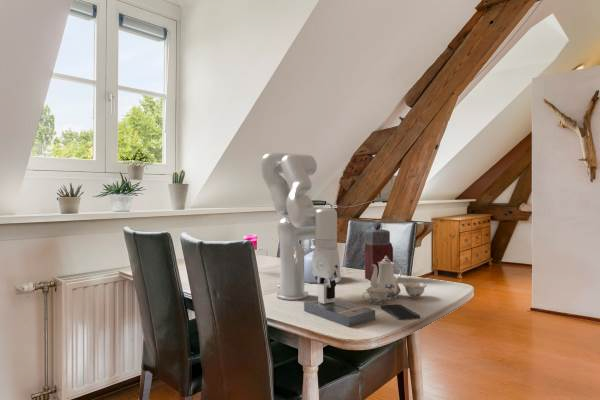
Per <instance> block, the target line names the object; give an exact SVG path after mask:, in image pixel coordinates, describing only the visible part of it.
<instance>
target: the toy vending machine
mask: <svg viewBox="0 0 600 400" xmlns="http://www.w3.org/2000/svg"><path fill="white" fill-rule="evenodd" d="M381 222H382V221H381V220H379V219H376V220H375V219H374V220H373V222H372V225H373V229H369V228H368V229H365V230H364V279H365V278H366V280H367V279H368V280H367V281H369V280H370V281H369V282H371V278H372V275H373V271H374V267H373V265H372V264H375V265H376V266H377V270H378V271H377V278H378V275H379V265H378V262H381V261H382V260H383V259H385V258H384V257H385V256H387V257H388V259H389V260H390V261H391V262H394V247H393V244H392V242H391V237H390V236H391V232H390V230H387V229H381V227H382V223H381Z"/></svg>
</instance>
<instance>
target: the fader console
mask: <svg viewBox="0 0 600 400" xmlns="http://www.w3.org/2000/svg"><path fill="white" fill-rule="evenodd" d="M303 312H306V313H307V314H311V315H314V316H316V317H320V318H322V319H325V320H329V321H330V322H334V323H336V324H339V325H342V326H344V327H347V328H349V327H353V326H357V325H361V324H364V323H368V322H371V321H376V310H375V309H372V308H369V307H365V306H363V305H359V304H356V303H352V302H348V301H346V300H342V299H338V298H335V301H334V302H330V303H325V304H323V303H320V302H318V299H314V300H313V299H312V300H309V301H304V302H303Z"/></svg>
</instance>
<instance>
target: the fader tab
mask: <svg viewBox="0 0 600 400" xmlns="http://www.w3.org/2000/svg"><path fill="white" fill-rule="evenodd" d="M327 287H328V283H324V284H319V285H318V284H317V292H318V293H317V295H318V296H317V300H318V302H320V303H323V304H325V303H330V302H334V301H335V299H336V297H335V298H332V299H327Z"/></svg>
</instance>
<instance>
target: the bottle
mask: <svg viewBox="0 0 600 400" xmlns="http://www.w3.org/2000/svg"><path fill="white" fill-rule="evenodd" d="M311 241H312V245H311V246H310V247H309V248H310V249H312V251H311V252H309V253H307V254H304V283H307V284H317V280H316V278H315V277H314V276H313V274H312V259H313V251H314V248H315V239H311ZM340 277H341V275H340ZM331 282H332V280H331ZM325 283H328V281H327V279H325ZM317 285H318V284H317Z"/></svg>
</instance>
